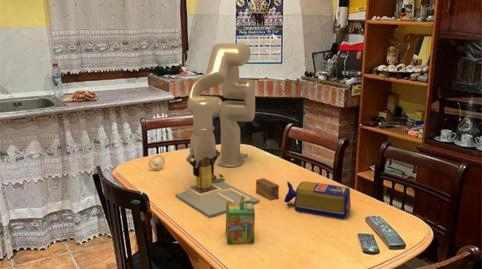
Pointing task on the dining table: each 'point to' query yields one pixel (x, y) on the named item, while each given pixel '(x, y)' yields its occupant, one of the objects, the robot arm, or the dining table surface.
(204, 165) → the sauce bottle
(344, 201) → the bread
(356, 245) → the dining table surface
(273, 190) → the brown wooden block
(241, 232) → the chalk box
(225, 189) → the jig board
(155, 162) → the ring around a ball
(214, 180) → the eiffel tower figurine
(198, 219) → the dining table surface
